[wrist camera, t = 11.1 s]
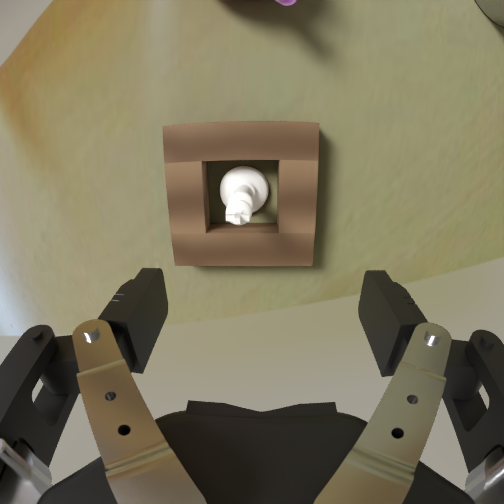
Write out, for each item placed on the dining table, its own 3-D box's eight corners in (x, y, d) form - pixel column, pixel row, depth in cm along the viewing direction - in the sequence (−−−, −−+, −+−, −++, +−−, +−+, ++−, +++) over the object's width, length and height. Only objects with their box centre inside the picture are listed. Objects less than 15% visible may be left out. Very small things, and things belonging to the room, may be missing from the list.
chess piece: (267, 213, 31) (271, 253, 22) (220, 212, 31) (204, 252, 22) (268, 166, 29) (273, 187, 20) (219, 166, 29) (200, 187, 20)
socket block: (171, 125, 28) (162, 126, 25) (313, 122, 27) (319, 122, 24) (181, 253, 33) (175, 265, 31) (308, 253, 33) (312, 265, 30)
